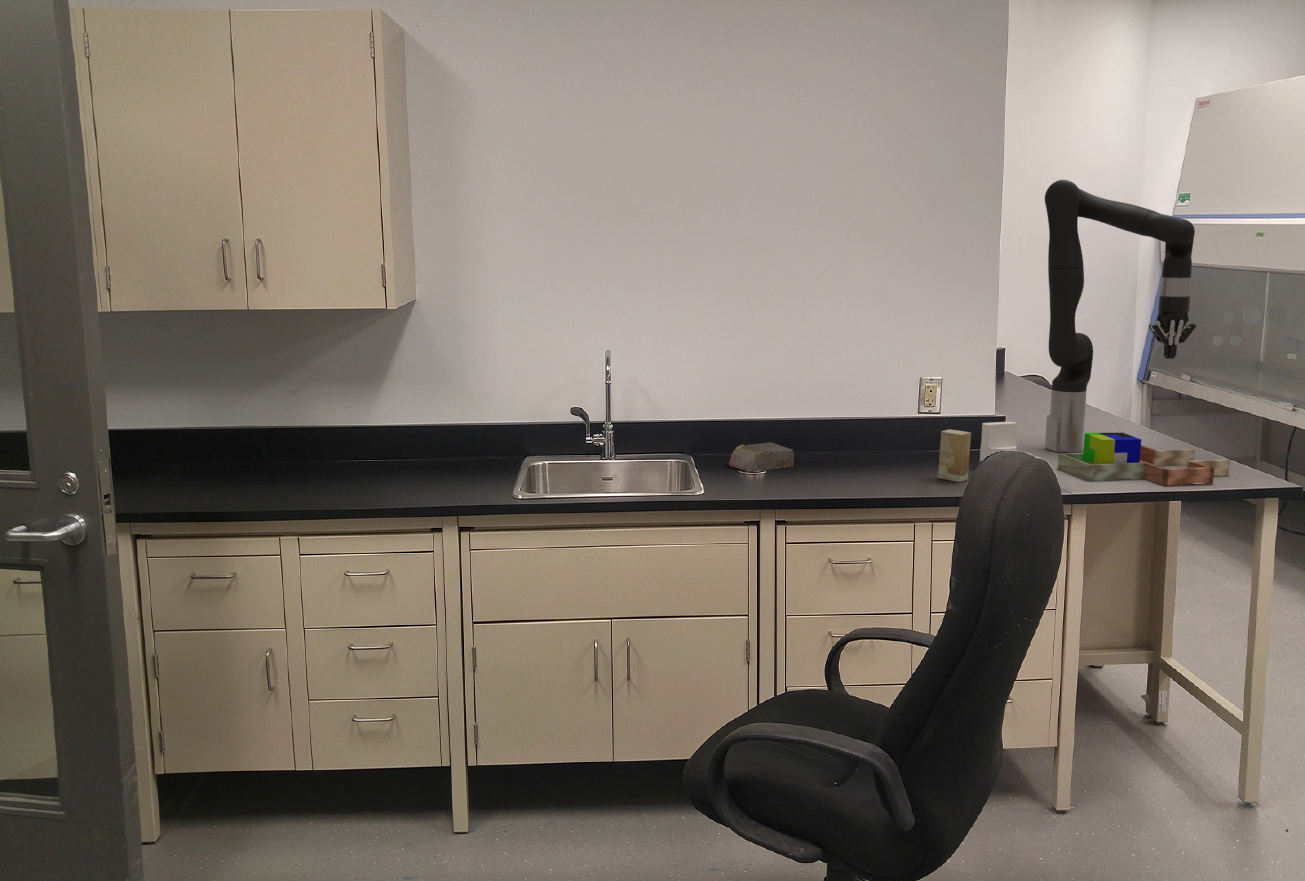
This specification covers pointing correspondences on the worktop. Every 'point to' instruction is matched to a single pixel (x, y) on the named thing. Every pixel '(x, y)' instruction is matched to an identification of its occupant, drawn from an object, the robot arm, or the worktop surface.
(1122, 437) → the puzzle toy
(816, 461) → the worktop surface
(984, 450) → the base with upright slab
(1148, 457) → the open sectioned tray
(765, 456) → the geological specimen
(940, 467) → the skincare box
